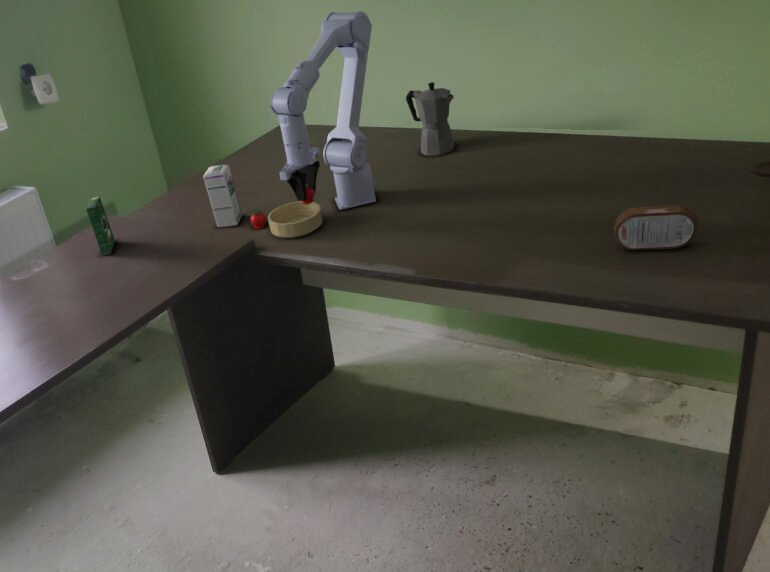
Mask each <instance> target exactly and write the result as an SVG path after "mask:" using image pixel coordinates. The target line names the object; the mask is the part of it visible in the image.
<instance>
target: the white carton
mask: <svg viewBox="0 0 770 572" xmlns="http://www.w3.org/2000/svg"><path fill="white" fill-rule="evenodd" d="M202 177H203V181H204V185H205V189H206V192H207V196H208V199H209V202H210V206H211V209H212V213H213V217H214V220H215V224H216V227H217V228H224V227H225V228H226V227H227V228H228V227H234V226H238V224H239V223H240V220H241V219H242V217H243V214H242V210H241V205H240V202H239V199H238V194H237V191H236V187H235V183H234V179H233V175H232V171H231V168H230V164H228V163H226V164H225V163H223V164H216V165H211V166H209V167H207V170H206V171H205V173H204V174H203V176H202Z"/></svg>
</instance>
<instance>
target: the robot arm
mask: <svg viewBox="0 0 770 572" xmlns="http://www.w3.org/2000/svg"><path fill="white" fill-rule="evenodd" d="M320 25H321V26H320V29H321V31H320V35H319V36H318V38H317V40H316V42H315V44H314V45H313V48H312V49H311V51H310V53H309V55H308V56H307V58H306V59H305V60H301V61H299V62H296V64H295V66H294V69H293V71H292V72H291V74H289V77H288V78H287V80H286V81H285V82H284V84H283V85H282V87H279V88H276V90H275V91H273V93H272V95H271V99H270V106H269V107H270V109H271V112H272V113H273V114H274V115H275V117H276V121H277V122H278V123H279V126H280V132H281V136H282V142H283V146H284V151H285V157H286V163H284V166H283V167H282V169H281V170H280V171H279V172H278V173H279V178H280V181H286V183H287V184H288V185H289V187H290V188H291V190H292V191H293V193H294V195H295V197H296V199H297V201H306V187H305V184H308V185H309V187H311V188H312V189H313V191H314V194H316V190H317V189H316V188H317V177H318V172H319V169H320V166H321V164H320V161H319V160H317V159H316V158H319V157H321V150H320V147H310V141H309V136H308V130H307V127H306V126H307V124H306V120H305V115H304V112H305V111H306V109H307V106H308V99H309V96H310V93H311V91H312V90H313V89H314V86H315V85H316V84H317V82H318V81H319V79H320V77H321V75H320V69H321V68H322V66H323V65H324V64H325V62H326V61H327V60H328V58H329V57H330V56H331V54H332V53H333V52H334V50H337V51H338V52H340V53H341V55H342V56H343V59H344V63H343V71H342V79H341V85H340V86H341V87H340V95H339V103H338V112H337V120H336V126H335V127H334V128H333V129H332V130H331V131H330V132H328V133H327V138H326V143H325V145H324V148H323V152H322V157H323V161H324V163H325V164H326V165H327V166H328V167H329V170H330V171H332V174H333V180H334V185H335V191H336V196H335V197H334V201H335V203H336V205H337V208H338V210H339V211H343V210H348V209H350V208H351V209H352V208H356V207H360V206H364V205H367V204H372V203H375V202H377V199H376V193H375V186H374V179H373V178H374V177H373V172H372V169H371V165H370V163H369V162H366V160H367V157H368V152H367V137H366V136H365V134H364V133H362V132H361V130H360V129H359V127H360V119H361V112H362V103H363V96H364V87H365V82H366V81H365V80H366V72H367V66H368V65H367V64H368V57H369V50H370V44H371V43H370V42H371V35H372V28H373V24H372V22H371V21H370V18H369V16H368V14H367V13H366V12H365V11H354V12H353V11H351V12H335V11H334V12H333V11H331V12H329V13H328V14H327V15H326V16H325V18H324V20H323V22H321V24H320ZM345 140H347V141H345Z"/></svg>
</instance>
